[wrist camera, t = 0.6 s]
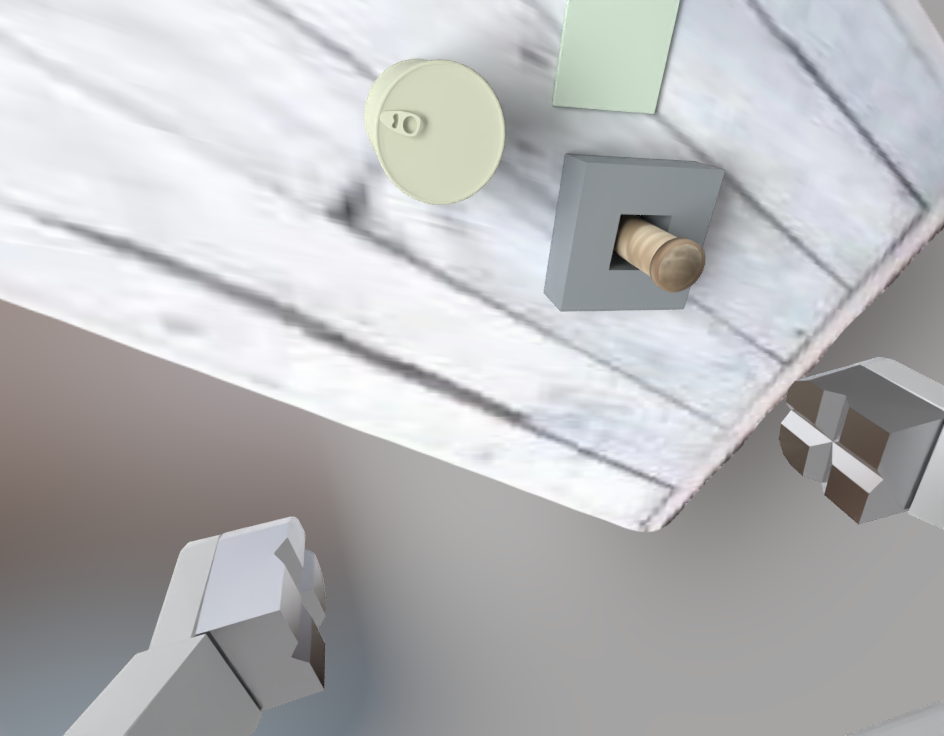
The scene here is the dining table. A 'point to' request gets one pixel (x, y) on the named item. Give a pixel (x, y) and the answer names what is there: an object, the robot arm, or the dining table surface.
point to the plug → (659, 253)
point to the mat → (614, 54)
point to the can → (435, 129)
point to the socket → (596, 222)
